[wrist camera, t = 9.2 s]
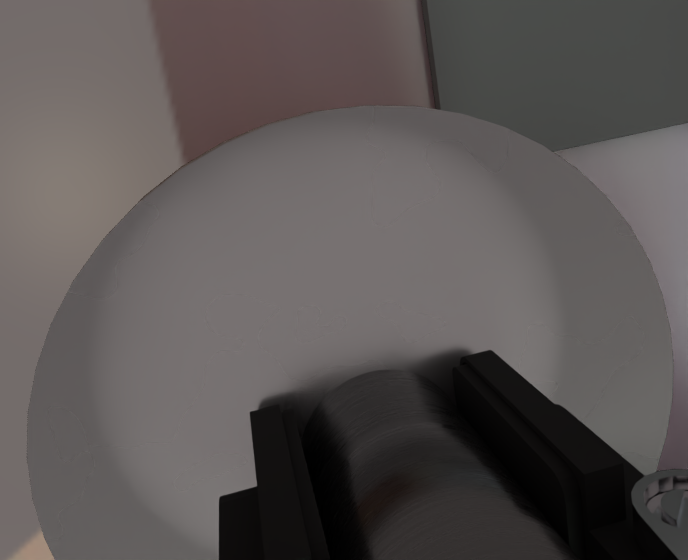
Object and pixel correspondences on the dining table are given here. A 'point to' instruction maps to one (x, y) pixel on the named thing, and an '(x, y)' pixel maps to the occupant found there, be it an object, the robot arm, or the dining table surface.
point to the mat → (561, 65)
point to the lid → (342, 339)
